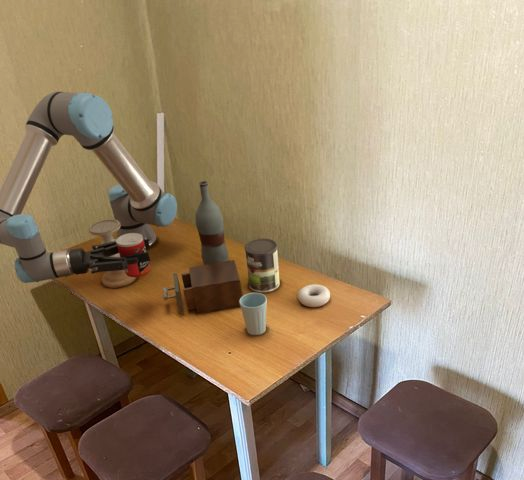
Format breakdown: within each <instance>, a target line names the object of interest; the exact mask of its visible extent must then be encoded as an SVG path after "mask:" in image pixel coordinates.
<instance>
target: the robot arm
mask: <svg viewBox="0 0 524 480" xmlns="http://www.w3.org/2000/svg"><path fill="white" fill-rule="evenodd" d="M112 116H113V111H112V109H111V107H110V106H109V104H108V103H107V101H106V100H105V99H103V98H102V97H100V96H99V95H96V94H93V93H90V92H69V91H53V92H50V93H48V94H46V95H45V96H44V97H42V99H41V100H39V101H38V103H37V104H36V105H35V107H34V108H33V110H32V111H31V113H30V115H29V117H28V118H27V121H26V123H25V125H24V129H25V135H24V137H23V139H22V141H21V144H20V145H19V147H18V150H17V152H16V155H14V159H13V160H12V163H11V165H10V167H9V169H8V172H7V174H6V176H5V179H4V181H3V183H2V185H1V187H0V244H1V245H3V246H7V247H10V248H13V249H15V251H16V254H17V256H18V257H17V258H16V259H15V260H14V271H15V274H16V277H17V278H18V280H19V281H20V282H22V283H25V284H28V283H39V282H42V281H48V280H54V279H59V278H69V277H72V276H74V275H76V276H79V275H85V274H87V273H89V270H90V273H91V274H92V275H93V274H97V273H103V272H105V273H106V272H107V271H117V270H124V269H127V268H128V265H130V264H136V263H142V262H147V261H149V262H151V257H150V253H149V251H146V252H143V253H137V254H131V255H126V258H125V257H109V256H112V255H115V254H118V253H119V251H118V247H117V244H116V241H113V242H109V243H105V244H102V243H101V244H93V245H91V248H92V249H91V250H88V251H85V250H84V248H82V247H78V248H72V249H71V248H70V250H68V249H64V250H57V251H53V252H47V250H46V247H45V244H44V242H43V239H42V235H41V234H40V230H39V227H38V225H37V224H36V221H35V219H34V217H33V216H32V215H30V214H28V213H23V210H24V208H25V207H26V203H27V202H28V199H29V197H30V195H31V193H32V191H33V189H34V186H35V184H36V182H37V180H38V177H39V175H40V173H41V171H42V169H43V167H44V164H45V162H46V160H47V158H48V155H49V153H50V151H51V149H52V147H54V146H57V145H58V143H59V140H60V139H61V138H62V137H63V136H71V137H73V138H74V139H75V140H76V142H77V143H78V144H79V145H80V146H81V147H82V148H83V149H84V150H86V151H91V152H92V153H93V154H94V155H95V156H96V158H97V159H98V160H99V161H100V163H101V164H102V165H103V166H104V167H105V169H106V170H107V171H108V172H109V173H110V174H111V175H112V177H113V178H114V179H115V181H116V182H117V183H118V184H117V185H114V186H113V187H111V188H110V189H109V190H108V192H107V194H108V199H109V204H110V208H111V210H112V214H113V217H114V218H113V219H115V220H118V221H119V222H120V223H121V227H120V229H119V230H117V231H116V239H117V238H118V237H120V236H122V235H125V234H129V233H138V234H141V235H142V237H143V240H144V244H145V248H146V250H148V249H151V248H152V247H153V246H155V244H157V241H158V239H157V235H156V233H155V231H154V229H153V228H152V226H156V227H157V228H160V227H161V228H166V227H169V226H170V225H171V224H172V223H173V222H174V220H175V218H176V215H177V210H178V203H177V200H176V197H175V196H174V195H173V194H170V193H169V192H167V193H166V192H164V190H162V188H161V186H159V184H158V183H157V182H155V181H151V180H150V179H149V178H148V177H147V176H146V175H145V173H144V172H143V170H142V169H141V168H140V166H139V165H138V164H137V162H136V161H135V160H134V158H133V156H132V155H131V154H130V153H129V151H128V150H127V149H126V148H125V146H124V144H123V143H122V142H121V141H120V140H119V138H118V137H117V135H116V134H115V133H114V132H115V124H114V118H113V117H112ZM119 266H120V267H119Z"/></svg>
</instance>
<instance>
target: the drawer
mask: <svg viewBox="0 0 524 480" xmlns="http://www.w3.org/2000/svg"><path fill="white" fill-rule="evenodd" d="M172 274H173V275H172V276H173V283H174V284H173V285H174V286H171V287H166V286H164V287H162V298H163V300H164V301H165V302H167V301H168V300H169V299H174V298H176V302H177V306H178V311H179V314H183V313H185V312H184V304H183V295H184V300H185V305H186V310H187V311H189V310H190V311H191V310H196V305H195V300H194V295H193V290H192V285H191V278H190V272H185V273H181V275H180V276H181V279H182V282H183V283H182V284H183V289H182V290H183V294H182V290H181V284H180V280H179V276H178V273H177V272H174V273H172ZM173 290H174V293H175V294H172V295H169V293H168V291H173Z"/></svg>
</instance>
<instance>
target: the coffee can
mask: <svg viewBox="0 0 524 480" xmlns="http://www.w3.org/2000/svg"><path fill="white" fill-rule="evenodd" d="M244 252H245V259H246V268H247V276H248V287H249V289H250V290H251V291H253V292H254V293H261V294H263V293H264V294H265V293H270V292H273V291H275V290H277V289H278V288H279V287H280V284H281V281H280V269H279V254H278V242H276V241H275V240H273V239H270V238H255V239H253V240H250V241H248V242H247V243H246V244H245V245H244Z"/></svg>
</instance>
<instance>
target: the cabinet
mask: <svg viewBox="0 0 524 480" xmlns="http://www.w3.org/2000/svg"><path fill="white" fill-rule="evenodd" d="M188 270H189V271H188V272H189V273H190V278H191V285H192V290H193V295H194V300H195V305H196V309H195V310H196V314H197V315H198V314H204V313H209V312H210V313H211V312H215V311H221V310H227V309H233V308H238V307H241V306H240V302H239V301H240V298H241V297H242V296H243V291H242V283H241V277H240V275H239V274H240V273H239V271H238V267H237V264H236V261H235V259H231V260H228V261H224V262H218V263H212V264H206V265H204V264H201V265H195V266H189V267H188Z"/></svg>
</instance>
